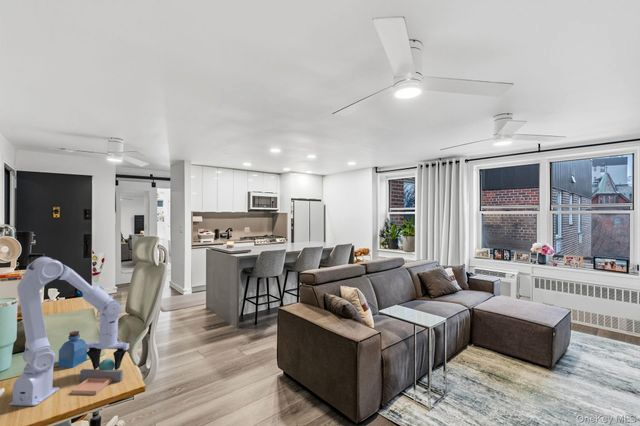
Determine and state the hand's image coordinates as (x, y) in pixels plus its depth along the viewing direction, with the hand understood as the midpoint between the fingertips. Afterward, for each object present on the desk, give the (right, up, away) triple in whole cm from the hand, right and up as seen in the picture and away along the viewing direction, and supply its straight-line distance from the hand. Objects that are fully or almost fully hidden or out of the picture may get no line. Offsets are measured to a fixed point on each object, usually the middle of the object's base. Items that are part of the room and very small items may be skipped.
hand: (106, 368), depth 118 cm
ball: (0, -2, 0) cm, 2 cm away
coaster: (+2, -2, -10) cm, 10 cm away
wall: (+2, -2, -5) cm, 6 cm away
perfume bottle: (-17, -1, +6) cm, 18 cm away
